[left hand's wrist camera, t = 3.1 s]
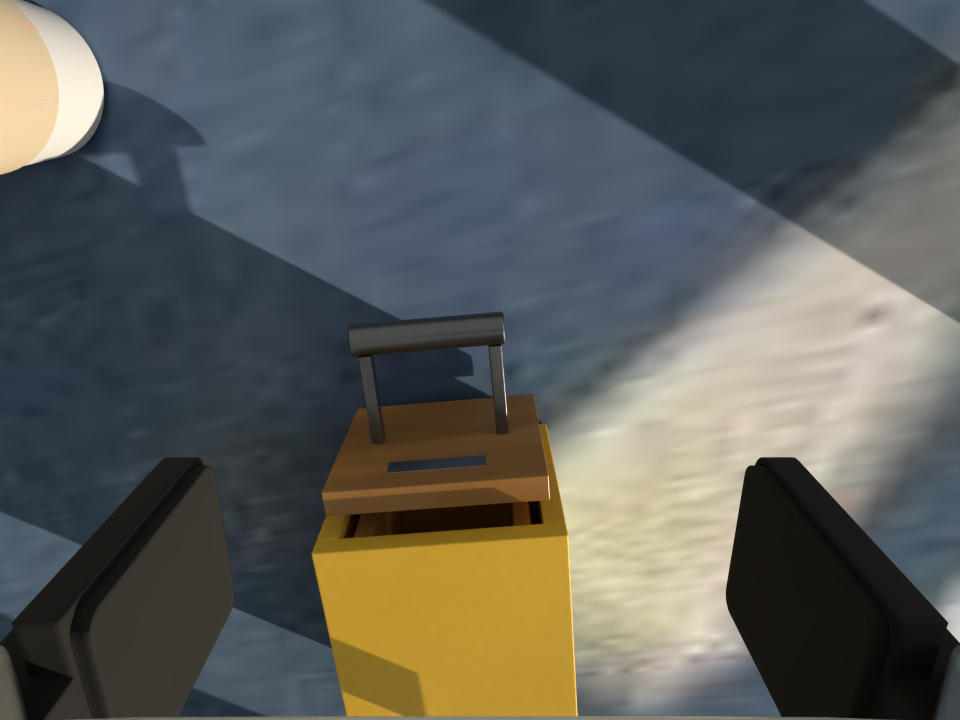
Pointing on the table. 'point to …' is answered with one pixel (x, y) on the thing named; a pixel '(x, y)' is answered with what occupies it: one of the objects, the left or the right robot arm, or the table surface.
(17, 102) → the coffee cup
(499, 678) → the cabinet
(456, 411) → the drawer
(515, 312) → the table surface
